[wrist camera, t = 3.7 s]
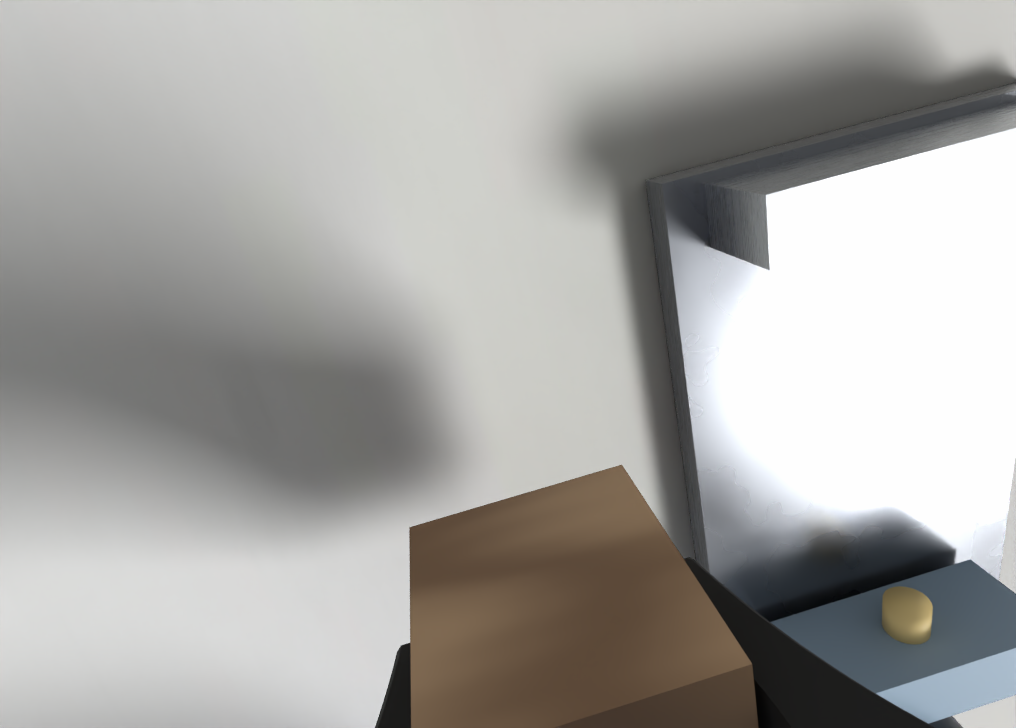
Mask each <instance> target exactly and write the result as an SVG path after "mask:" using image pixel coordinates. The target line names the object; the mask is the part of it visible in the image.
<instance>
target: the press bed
mask: <svg viewBox="0 0 1016 728" xmlns="http://www.w3.org/2000/svg"><path fill="white" fill-rule="evenodd" d="M646 187H647V195H648V202H649V210H650V217H651V225H652V232H653V240H654V247H655V255H656V262H657V270H658V277H659V285H660V292H661V300H662V307H663V315H664V322H665V330H666V337H667V345H668V352H669V360H670V368H671V375H672V383H673V390H674V398H675V405H676V413H677V420H678V428H679V435H680V443H681V450H682V458H683V465H684V473H685V480H686V488H687V495H688V503H689V510H690V518H691V525H692V533H693V540H694V548H695V555H696V561H697V562H698V563H699V564H700V565H701V566H702V567H703V568H704V569H706V570H707V571H708V572H709V573H710V574H711V575H712V576H714V577H715V578H716V579H717V580H718V581H719V582H721V583H722V584H723V585H724V586H725V587H727V588H728V589H729V590H730V591H731V592H733V593H734V594H735V595H736V596H738V597H739V598H740V599H741V600H742V601H744V602H745V603H746V604H747V605H749V606H750V607H751V608H752V609H754V610H755V611H756V612H758V613H759V614H760V615H762V616H763V617H764V618H766V619H767V620H768V621H770V622H772V621H775V620H778V619H782V618H785V617H788V616H791V615H794V614H798V613H801V612H804V611H807V610H810V609H813V608H817V607H820V606H823V605H826V604H829V603H833V602H836V601H839V600H842V599H845V598H849V597H852V596H855V595H858V594H861V593H864V592H868V591H871V590H874V589H877V588H880V587H884V586H887V585H890V584H893V583H896V582H900V581H903V580H906V579H909V578H912V577H915V576H919V575H922V574H925V573H928V572H931V571H935V570H938V569H941V568H944V567H947V566H951V565H954V564H957V563H960V562H963V561H966V560H970V559H971V560H972V561H973V562H975V563H976V564H977V565H979V566H980V567H981V568H983V569H984V570H985V571H986V572H988V573H989V574H990V575H992V576H993V577H994V578H996V579H997V580H998V581H999V578H1000V570H1001V562H1002V555H1003V547H1004V539H1005V532H1006V524H1007V516H1008V508H1009V501H1010V493H1011V485H1012V477H1013V470H1014V462H1015V454H1016V83H1013V84H1009V85H1005V86H1002V87H998V88H994V89H990V90H987V91H983V92H979V93H975V94H971V95H968V96H964V97H960V98H956V99H952V100H949V101H945V102H941V103H937V104H933V105H930V106H926V107H922V108H918V109H914V110H911V111H907V112H903V113H899V114H896V115H892V116H888V117H884V118H880V119H877V120H873V121H869V122H865V123H861V124H858V125H854V126H850V127H846V128H842V129H839V130H835V131H831V132H827V133H823V134H820V135H816V136H812V137H808V138H805V139H801V140H797V141H793V142H789V143H786V144H782V145H778V146H774V147H770V148H767V149H763V150H759V151H755V152H751V153H748V154H744V155H740V156H736V157H732V158H729V159H725V160H721V161H717V162H714V163H710V164H706V165H702V166H698V167H695V168H691V169H687V170H683V171H679V172H676V173H672V174H668V175H664V176H660V177H657V178H653V179H649V180H646Z"/></svg>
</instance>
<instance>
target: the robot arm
mask: <svg viewBox="0 0 1016 728" xmlns="http://www.w3.org/2000/svg"><path fill="white" fill-rule="evenodd" d="M684 560H685V562H686V564H687V565H688V567H689V568H690V570H691V571H692V573H693V574H694V576H695V577H696V579H697V580H698V582H699V583H700V585H701V586H702V588H703V590H704V591H705V593H706V594H707V596H708V597H709V599H710V600H711V602H712V603H713V605H714V606H715V608H716V609H717V611H718V612H719V614H720V616H721V617H722V619H723V620H724V622H725V623H726V625H727V626H728V628H729V629H730V631H731V632H732V634H733V635H734V637H735V638H736V640H737V641H738V643H739V645H740V646H741V648H742V649H743V651H744V652H745V654H746V655H747V657H748V658H749V660H750V661H751V663H752V667H753V677H754V687H755V697H756V707H757V717H758V727H759V728H936V727H934V726H932V725H930V724H928V723H926V722H925V721H923V720H921V719H919V718H918V717H916V716H914V715H912V714H910V713H909V712H907V711H905V710H903V709H901V708H900V707H898V706H896V705H894V704H893V703H891V702H889V701H888V700H886V699H884V698H883V697H881V696H879V695H878V694H876V693H874V692H873V691H871V690H869V689H867V688H866V687H864V686H863V685H861V684H859V683H858V682H856V681H855V680H853V679H851V678H850V677H848V676H847V675H845V674H844V673H842V672H841V671H839V670H837V669H836V668H834V667H833V666H831V665H830V664H828V663H827V662H826V661H824V660H823V659H821V658H820V657H818V656H817V655H815V654H814V653H812V652H811V651H809V650H808V649H806V648H805V647H804V646H802V645H801V644H799V643H798V642H797V641H795V640H794V639H792V638H791V637H790V636H788V635H787V634H786V633H784V632H783V631H782V630H780V629H779V628H778V627H776V626H775V625H774V624H772V623H771V622H770V621H768V620H767V619H766V618H764V617H763V616H762V615H760V614H759V613H758V612H756V611H755V610H754V609H752V608H751V607H750V606H749V605H747V604H746V603H745V602H744V601H742V600H741V599H740V598H739V597H738V596H736V595H735V594H734V593H733V592H731V591H730V590H729V589H728V588H727V587H725V586H724V585H723V584H722V583H721V582H719V581H718V580H717V579H716V578H715V577H714V576H712V575H711V574H710V573H709V572H708V571H707V570H706V569H704V568H703V567H702V566H701V565H700V564H699V563H698V562H697V561H695V560H694V559H692V558H690V557H689V558H686V559H684ZM375 728H411V647H410V643H408V644H405V645H401V647H400V648H399V650H398V651H397V655H396V659H395V663H394V667H393V671H392V674H391V678H390V681H389V685H388V688H387V692H386V695H385V698H384V702H383V705H382V708H381V711H380V714H379V717H378V721H377V723H376V726H375Z"/></svg>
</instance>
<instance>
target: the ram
mask: <svg viewBox="0 0 1016 728" xmlns="http://www.w3.org/2000/svg"><path fill="white" fill-rule="evenodd" d="M771 623H772V624H774V625H775V626H776V627H778V628H779V629H780V630H782V631H783V632H784V633H786V634H787V635H788V636H790V637H791V638H792V639H794V640H795V641H797V642H798V643H799V644H801V645H802V646H804V647H805V648H806V649H808V650H809V651H811V652H812V653H814V654H815V655H817V656H818V657H820V658H821V659H823V660H824V661H826V662H827V663H828V664H830V665H831V666H833V667H834V668H836V669H837V670H839V671H841V672H842V673H844V674H845V675H847V676H848V677H850V678H851V679H853V680H855V681H856V682H858V683H859V684H861V685H863V686H864V687H866V688H867V689H869V690H871V691H873V692H874V693H876V694H878V695H879V696H881V697H883V698H884V699H886V700H888V701H889V702H891V703H893V704H894V705H896V706H898V707H900V708H901V709H903V710H905V711H907V712H909V713H910V714H912V715H914V716H916V717H918V718H919V719H921V720H923V721H925V722H926V723H928V724H930V725H932V726H934V727H936V728H963V727H962V726H961V725H960V724H959V723H958V722H957V721H956V720H955V719H954V718H953V715H956V714H959V713H962V712H965V711H968V710H971V709H974V708H977V707H980V706H983V705H986V704H989V703H993V702H996V701H999V700H1002V699H1005V698H1008V697H1011V696H1014V695H1016V594H1015V593H1014V592H1013V591H1011V590H1010V589H1009V588H1007V587H1006V586H1005V585H1004V584H1002V583H1001V582H1000V581H998V580H997V579H996V578H994V577H993V576H992V575H990V574H989V573H988V572H986V571H985V570H984V569H983V568H981V567H980V566H979V565H977V564H976V563H975V562H973V561H972V560H971V559H970V560H966V561H963V562H960V563H957V564H954V565H951V566H947V567H944V568H941V569H938V570H935V571H931V572H928V573H925V574H922V575H919V576H915V577H912V578H909V579H906V580H903V581H900V582H896V583H893V584H890V585H887V586H884V587H880V588H877V589H874V590H871V591H868V592H864V593H861V594H858V595H855V596H852V597H849V598H845V599H842V600H839V601H836V602H833V603H829V604H826V605H823V606H820V607H817V608H813V609H810V610H807V611H804V612H801V613H798V614H794V615H791V616H788V617H785V618H782V619H778V620H775V621H772V622H771Z"/></svg>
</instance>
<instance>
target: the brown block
mask: <svg viewBox="0 0 1016 728" xmlns="http://www.w3.org/2000/svg"><path fill="white" fill-rule="evenodd" d="M410 647H411V728H759V727H758V717H757V707H756V697H755V687H754V677H753V667H752V663H751V661H750V660H749V658H748V657H747V655H746V654H745V652H744V651H743V649H742V648H741V646H740V645H739V643H738V641H737V640H736V638H735V637H734V635H733V634H732V632H731V631H730V629H729V628H728V626H727V625H726V623H725V622H724V620H723V619H722V617H721V616H720V614H719V612H718V611H717V609H716V608H715V606H714V605H713V603H712V602H711V600H710V599H709V597H708V596H707V594H706V593H705V591H704V590H703V588H702V586H701V585H700V583H699V582H698V580H697V579H696V577H695V576H694V574H693V573H692V571H691V570H690V568H689V567H688V565H687V564H686V562H685V560H684V559H683V557H682V556H681V554H680V553H679V551H678V550H677V548H676V547H675V545H674V544H673V542H672V541H671V539H670V538H669V536H668V534H667V533H666V531H665V530H664V528H663V527H662V525H661V524H660V522H659V521H658V519H657V518H656V516H655V515H654V513H653V512H652V510H651V509H650V507H649V505H648V504H647V502H646V501H645V499H644V498H643V496H642V495H641V493H640V492H639V490H638V489H637V487H636V486H635V484H634V483H633V481H632V479H631V478H630V476H629V475H628V473H627V472H626V470H625V469H624V467H623V466H622V465H619V466H616V467H613V468H609V469H606V470H602V471H599V472H596V473H592V474H589V475H585V476H582V477H579V478H575V479H572V480H568V481H565V482H562V483H558V484H555V485H552V486H548V487H545V488H541V489H538V490H535V491H531V492H528V493H524V494H521V495H518V496H514V497H511V498H508V499H504V500H501V501H497V502H494V503H491V504H487V505H484V506H480V507H477V508H474V509H470V510H467V511H463V512H460V513H457V514H453V515H450V516H447V517H443V518H440V519H436V520H433V521H430V522H426V523H423V524H419V525H416V526H413V527H410Z"/></svg>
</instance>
